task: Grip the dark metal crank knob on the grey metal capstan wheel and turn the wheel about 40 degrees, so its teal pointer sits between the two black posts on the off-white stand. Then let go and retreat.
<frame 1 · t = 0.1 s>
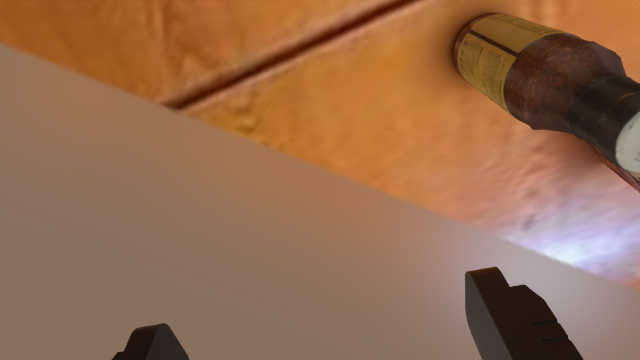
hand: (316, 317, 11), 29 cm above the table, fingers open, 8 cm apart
candy box: (600, 126, 41), on the table
sauce bottle: (485, 44, 36), on the table
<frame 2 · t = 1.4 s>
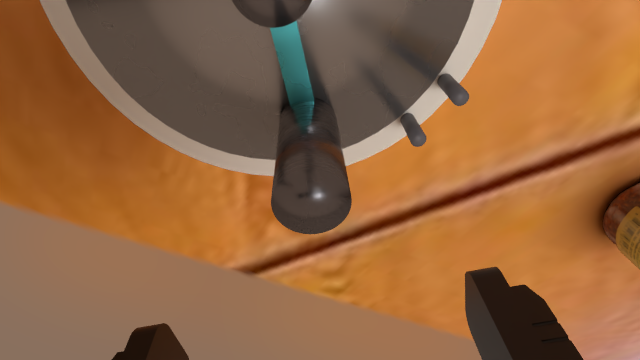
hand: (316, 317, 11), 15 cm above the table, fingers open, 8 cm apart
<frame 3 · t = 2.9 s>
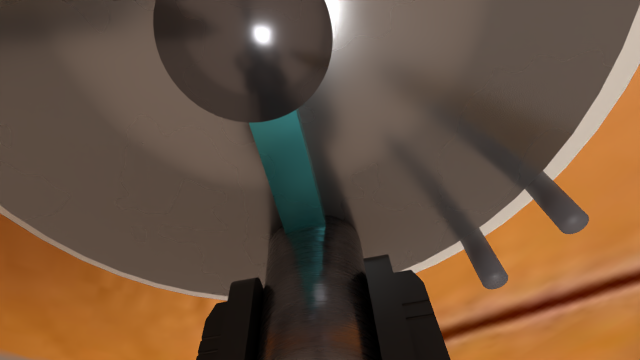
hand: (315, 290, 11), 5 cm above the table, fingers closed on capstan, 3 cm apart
stand: (261, 7, 12), on the table
capstan: (232, 65, 7), point 6 cm above the table, hinge at 0.1°, touching gripper
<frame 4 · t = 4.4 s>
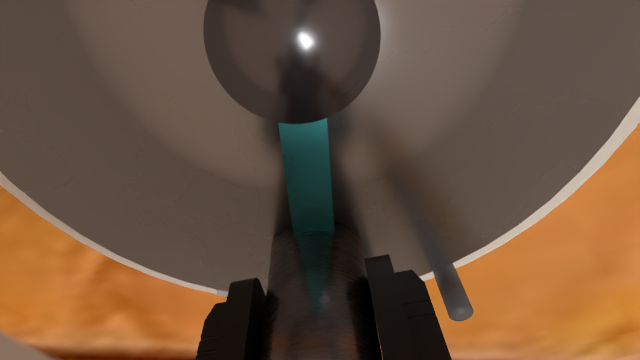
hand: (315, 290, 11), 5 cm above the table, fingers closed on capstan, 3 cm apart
stand: (297, 8, 12), on the table
capstan: (289, 68, 7), point 6 cm above the table, hinge at 21.3°, touching gripper
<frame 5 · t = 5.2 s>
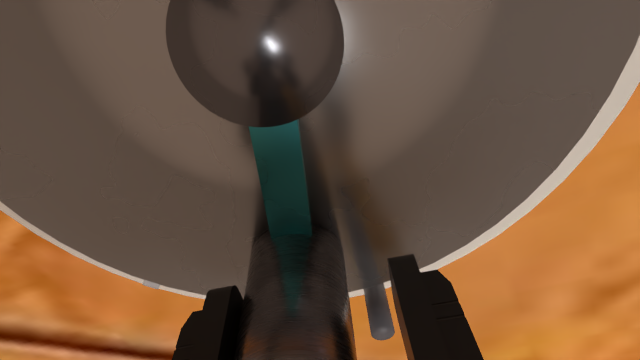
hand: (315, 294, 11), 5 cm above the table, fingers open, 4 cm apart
stand: (270, 11, 12), on the table
capstan: (246, 72, 7), point 6 cm above the table, hinge at 33.2°
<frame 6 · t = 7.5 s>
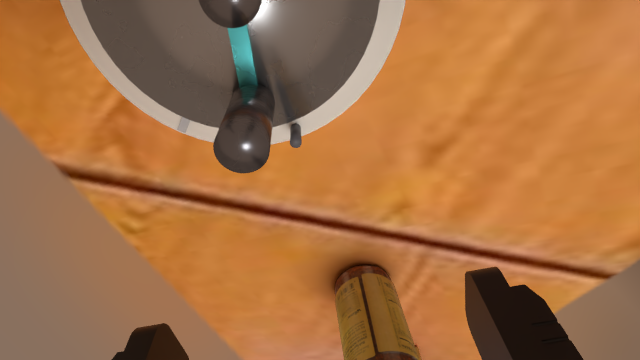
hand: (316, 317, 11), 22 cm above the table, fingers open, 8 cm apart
sauce bottle: (364, 281, 42), on the table
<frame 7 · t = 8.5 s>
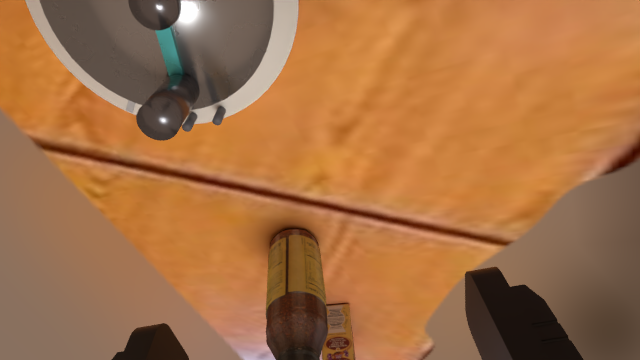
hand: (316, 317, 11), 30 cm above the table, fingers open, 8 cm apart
candy box: (336, 323, 57), on the table
sauce bottle: (296, 243, 49), on the table
capstan: (145, 9, 29), point 6 cm above the table, hinge at 33.2°
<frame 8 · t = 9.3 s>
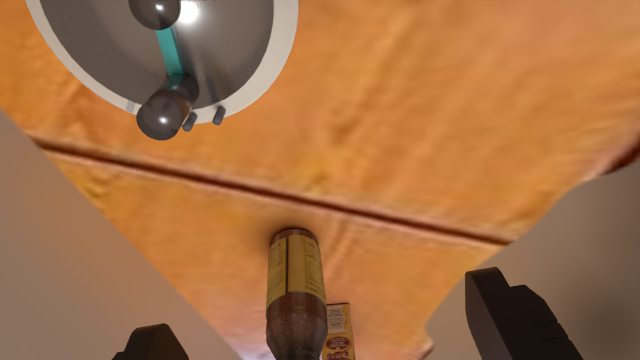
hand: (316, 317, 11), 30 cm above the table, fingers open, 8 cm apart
candy box: (336, 322, 57), on the table
sauce bottle: (296, 243, 49), on the table
capstan: (145, 9, 29), point 6 cm above the table, hinge at 33.2°
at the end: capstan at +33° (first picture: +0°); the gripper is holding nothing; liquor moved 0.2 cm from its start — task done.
